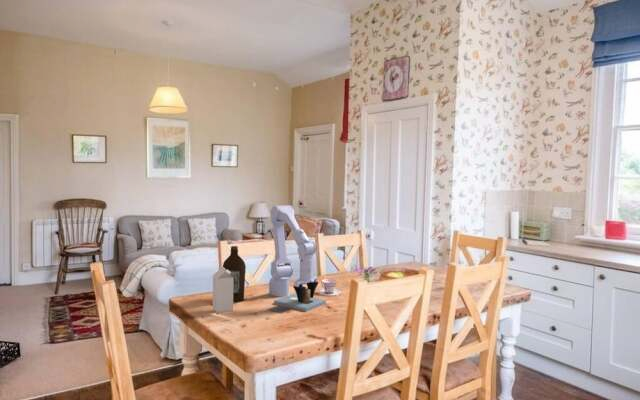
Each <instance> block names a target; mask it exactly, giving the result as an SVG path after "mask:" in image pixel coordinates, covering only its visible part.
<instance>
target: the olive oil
mask: <svg viewBox="0 0 640 400" xmlns="http://www.w3.org/2000/svg"><path fill="white" fill-rule="evenodd" d="M238 248H239V246H237V245H232V246H230V255H228V257H227V258H226V259H225V260H224V261H223V264H222V267H224V268H225V269H226V270H229V271H230V272H231V273H230V274H229V275H231V276H232V277H233V303H239V302H243V300H245V285H246V283H245V282H246V269H247V268H246V267H247V266H246V263H245V260H243V258H242V257H241V256H240V255H239V249H238Z"/></svg>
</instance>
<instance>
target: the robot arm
mask: <svg viewBox="0 0 640 400" xmlns="http://www.w3.org/2000/svg"><path fill="white" fill-rule="evenodd" d="M269 211H270V213H269V214H270V222H271V224H272V231H273V242H274V251H275V252H274V253H275V258H274V260H273V261H272V262H270V275H271V278H270V280H269V281H268V282H269V283H268V295H272V296H275V297H280V298H283V297H286V296H289V295H291V294H290V279H291V278H292V276H293V274H294V268H293V264H292V260H291V259H289V258H288V257H287V247H286V236H285V226H284V225H285V224H287V225H288V227H289V228H290V230H291V232H292V238H293V240H294V242H295V245H296V246H297V254H298V258H299V278H298V279H297V280H295V281H294V284H293V286H292V287H293V289H294V291H295V294H297V298H298V301H300V302H303V297H304V291H305V288H307V289H310V298H314V295H315V292H316V288H317V287H318V285H319V282H318V276H317V275H313V270H314V269H313V267H314V255H315V254H316V252H317V246H316V244H315V243H314V241H312V240H310V239H309V237H308V236H307V234H306V232H305V231H304V229H302V228H300V226H299V224H298V221H297V218H296V217H295V209H294V207H293V206H292V205H291V204H288V205H272V207H271V209H270V210H269ZM305 284H306V286H304V285H305Z"/></svg>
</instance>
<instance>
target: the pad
mask: <svg viewBox="0 0 640 400" xmlns="http://www.w3.org/2000/svg"><path fill="white" fill-rule="evenodd" d="M290 310H292V308H289V307H285V306H281V305H276V306H273V307H270V308H267V309H266V311H268V312H273V313H278V314H282V313H283V314H284V313H285V312H288V311H290Z"/></svg>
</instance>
